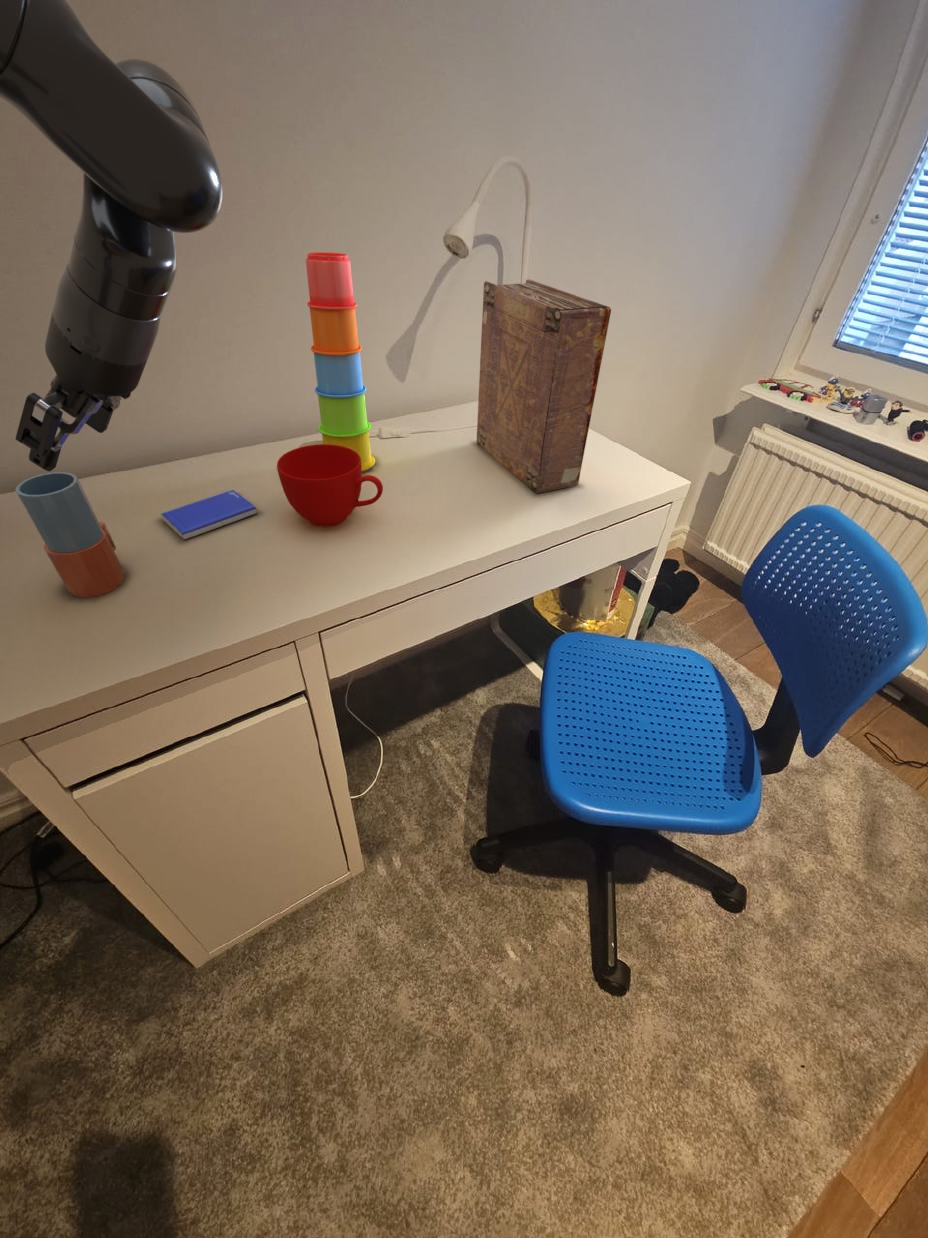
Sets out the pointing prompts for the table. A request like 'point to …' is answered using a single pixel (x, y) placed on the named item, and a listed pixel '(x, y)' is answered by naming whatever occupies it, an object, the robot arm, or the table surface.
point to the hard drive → (208, 514)
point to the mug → (89, 567)
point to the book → (538, 380)
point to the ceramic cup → (324, 482)
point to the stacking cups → (337, 354)
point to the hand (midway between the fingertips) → (69, 444)
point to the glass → (60, 511)
